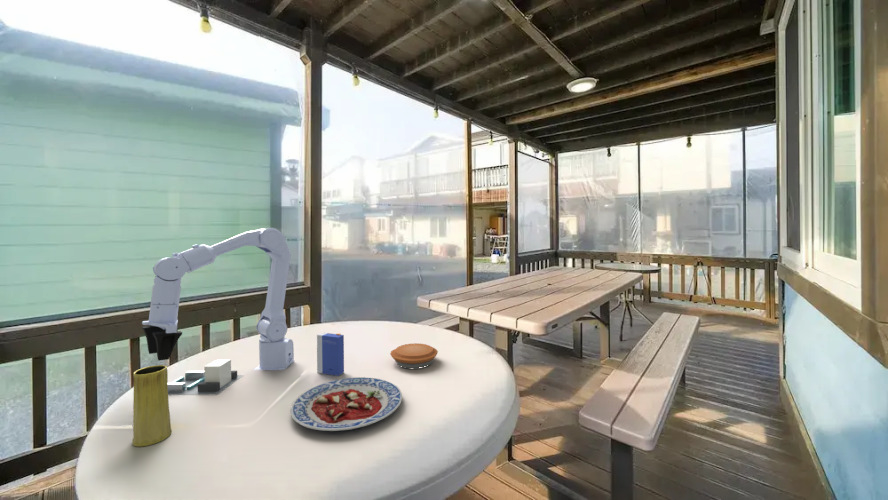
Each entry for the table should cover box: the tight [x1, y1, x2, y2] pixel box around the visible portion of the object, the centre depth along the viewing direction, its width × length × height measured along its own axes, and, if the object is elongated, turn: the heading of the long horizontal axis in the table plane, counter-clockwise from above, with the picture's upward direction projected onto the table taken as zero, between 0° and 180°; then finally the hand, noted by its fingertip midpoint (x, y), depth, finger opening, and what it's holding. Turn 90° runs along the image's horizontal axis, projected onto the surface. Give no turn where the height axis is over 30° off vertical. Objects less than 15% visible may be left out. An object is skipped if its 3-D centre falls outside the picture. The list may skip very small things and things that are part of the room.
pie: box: [389, 342, 439, 369], centre depth 111 cm, size 16×16×5 cm
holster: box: [198, 370, 238, 392], centre depth 93 cm, size 5×9×2 cm, turn 1°
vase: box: [131, 364, 172, 448], centre depth 69 cm, size 6×6×14 cm
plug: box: [203, 359, 232, 388], centre depth 93 cm, size 4×5×6 cm
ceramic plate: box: [290, 376, 403, 432], centre depth 82 cm, size 26×26×3 cm
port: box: [168, 370, 205, 392], centre depth 93 cm, size 7×9×2 cm
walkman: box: [316, 332, 345, 377], centre depth 102 cm, size 8×3×12 cm, turn 70°
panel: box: [168, 374, 244, 396], centre depth 93 cm, size 16×12×1 cm
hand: (158, 356), depth 87 cm, fingers open, 7 cm apart
